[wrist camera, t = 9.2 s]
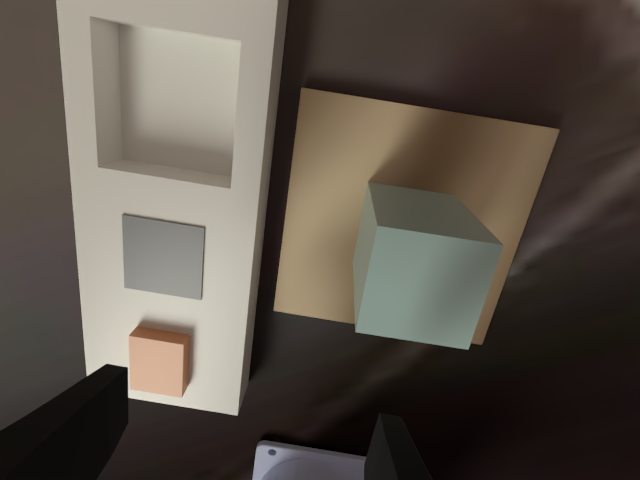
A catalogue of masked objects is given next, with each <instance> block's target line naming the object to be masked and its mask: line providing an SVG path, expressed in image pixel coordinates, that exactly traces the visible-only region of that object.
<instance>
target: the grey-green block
mask: <svg viewBox="0 0 640 480" xmlns="http://www.w3.org/2000/svg"><path fill="white" fill-rule="evenodd" d="M503 246H504V245H503V244H502V243H501V242H500V241H499V240H498V239H497V238H496V237H495V236H494V235H493V234H492V233H491V232H490V231H489V230H488V229H487V227H486V226H485V225H484V224H483V223H482V222H481V221H480V220H479V219H478V218H477V217H476V216H475V215H474V214H473V213H472V212H471V211H470V210H469V209H468V208H467V207H466V206H465V205H464V204H463V203H462V202H461V201H460V200H459V199H458V198H457V196H456V195H450V194H444V193H437V192H431V191H424V190H418V189H411V188H405V187H398V186H392V185H385V184H379V183H372V182H368V183H367V189H366V194H365V199H364V205H363V210H362V215H361V220H360V226H359V231H358V236H357V241H356V247H355V252H354V257H353V282H354V310H355V332H358V333H364V334H371V335H377V336H383V337H390V338H396V339H403V340H409V341H415V342H422V343H428V344H435V345H441V346H448V347H454V348H460V349H467V350H468V349H469V346H470V343H471V340H472V337H473V335H474V332H475V329H476V326H477V323H478V320H479V317H480V314H481V311H482V308H483V305H484V302H485V299H486V296H487V293H488V290H489V287H490V284H491V281H492V278H493V275H494V272H495V269H496V266H497V264H498V261H499V258H500V255H501V252H502V249H503Z"/></svg>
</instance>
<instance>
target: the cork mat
mask: <svg viewBox="0 0 640 480" xmlns="http://www.w3.org/2000/svg"><path fill="white" fill-rule="evenodd" d="M559 131H560V129H555V128H550V127H543V126H537V125H531V124H525V123H519V122H513V121H507V120H500V119H494V118H488V117H482V116H476V115H470V114H464V113H457V112H451V111H445V110H439V109H433V108H427V107H420V106H414V105H408V104H402V103H396V102H390V101H384V100H377V99H371V98H365V97H359V96H353V95H347V94H341V93H334V92H328V91H322V90H316V89H310V88H304V87H301V94H300V102H299V110H298V118H297V126H296V134H295V142H294V150H293V158H292V166H291V174H290V182H289V190H288V198H287V206H286V214H285V222H284V230H283V238H282V246H281V254H280V262H279V270H278V278H277V286H276V294H275V302H274V310H273V311H278V312H284V313H291V314H297V315H303V316H309V317H315V318H321V319H327V320H333V321H340V322H346V323H352V324H355V310H354V282H353V257H354V252H355V247H356V241H357V236H358V231H359V226H360V220H361V215H362V210H363V205H364V199H365V194H366V189H367V183H368V182H372V183H379V184H385V185H392V186H398V187H405V188H411V189H418V190H424V191H431V192H437V193H444V194H450V195H456V196H457V198H458V199H459V200H460V201H461V202H462V203H463V204H464V205H465V206H466V207H467V208H468V209H469V210H470V211H471V212H472V213H473V214H474V215H475V216H476V217H477V218H478V219H479V220H480V221H481V222H482V223H483V224H484V225H485V226H486V227H487V229H488V230H489V231H490V232H491V233H492V234H493V235H494V236H495V237H496V238H497V239H498V240H499V241H500V242H501V243H502V244H503V245H504V246H503V249H502V252H501V255H500V258H499V261H498V264H497V266H496V269H495V272H494V275H493V278H492V281H491V284H490V287H489V290H488V293H487V296H486V299H485V302H484V305H483V308H482V311H481V314H480V317H479V320H478V323H477V326H476V329H475V332H474V335H473V337H472V340H471V343H474V344H480V345H482V343H483V340H484V338H485V335H486V332H487V329H488V327H489V324H490V321H491V318H492V315H493V313H494V310H495V307H496V304H497V302H498V299H499V296H500V293H501V291H502V288H503V285H504V282H505V280H506V277H507V274H508V271H509V269H510V266H511V263H512V260H513V258H514V255H515V252H516V249H517V246H518V244H519V241H520V238H521V235H522V233H523V230H524V227H525V224H526V222H527V219H528V216H529V213H530V211H531V208H532V205H533V202H534V200H535V197H536V194H537V191H538V189H539V186H540V183H541V180H542V177H543V175H544V172H545V169H546V166H547V164H548V161H549V158H550V155H551V153H552V150H553V147H554V144H555V142H556V139H557V136H558V133H559Z"/></svg>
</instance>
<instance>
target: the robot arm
mask: <svg viewBox="0 0 640 480" xmlns="http://www.w3.org/2000/svg"><path fill="white" fill-rule="evenodd" d="M127 424H128V367H122V366H117V365H111V364H105V365H104V366H102V367H101V368H99V369H98V370H96V371H94V372H93V373H91V374H90V375H88V376H87V377H85V378H84V379H82V380H81V381H79V382H78V383H76V384H75V385H73V386H72V387H70V388H68V389H67V390H65V391H64V392H62V393H61V394H59V395H58V396H56V397H55V398H53V399H52V400H50V401H48V402H47V403H45V404H44V405H42V406H41V407H39V408H37V409H36V410H34V411H33V412H31V413H29V414H28V415H26V416H25V417H23V418H21V419H20V420H18V421H16V422H15V423H13V424H11V425H9V426H8V427H6V428H4V429H3V430H1V431H0V480H96V479H97V478H98V476H99V475H100V473H101V472H102V470H103V468H104V467H105V465H106V464H107V462H108V461H109V459H110V457H111V455H112V453H113V452H114V450H115V448H116V446H117V444H118V442H119V440H120V438H121V436H122V434H123V432H124V430H125V428H126V426H127ZM271 449H273V450H271ZM252 480H433V479H432V477H431V475H430V473H429V472H428V470H427V468H426V466H425V464H424V462H423V460H422V458H421V456H420V454H419V452H418V450H417V448H416V446H415V444H414V442H413V440H412V438H411V436H410V434H409V431H408V429H407V427H406V425H405V423H404V421H403V419H402V418H401V416H395V415H390V414H384V413H379V416H378V419H377V422H376V426H375V429H374V433H373V436H372V440H371V443H370V446H369V450H368V453H367V457H365V456H358V455H352V454H346V453H340V452H334V451H328V450H322V449H316V448H310V447H303V446H297V445H291V444H285V443H279V442H273V441H267V440H263V441H260V442H259V443H258V444H257V448H256V455H255V463H254V471H253V479H252Z"/></svg>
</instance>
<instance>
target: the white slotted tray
mask: <svg viewBox="0 0 640 480" xmlns="http://www.w3.org/2000/svg"><path fill="white" fill-rule="evenodd" d="M56 4H57V16H58V29H59V41H60V53H61V65H62V78H63V90H64V102H65V114H66V127H67V139H68V151H69V164H70V176H71V188H72V200H73V213H74V225H75V237H76V249H77V262H78V274H79V286H80V299H81V311H82V323H83V335H84V348H85V360H86V372H87V376H88V375H90V374H91V373H93V372H94V371H96V370H98V369H99V368H101V367H102V366H104V365H105V364H111V365H117V366H122V367H128V398H134V399H140V400H146V401H152V402H158V403H164V404H170V405H176V406H182V407H189V408H195V409H201V410H207V411H213V412H219V413H225V414H231V415H237V416H238V413H239V410H240V407H241V404H242V400H243V397H244V394H245V391H246V388H247V385H248V381H249V371H250V362H251V352H252V343H253V334H254V324H255V315H256V305H257V296H258V287H259V277H260V268H261V258H262V249H263V239H264V230H265V221H266V211H267V202H268V192H269V183H270V173H271V164H272V155H273V145H274V136H275V126H276V117H277V107H278V98H279V89H280V79H281V70H282V60H283V51H284V41H285V32H286V23H287V13H288V4H289V0H56Z"/></svg>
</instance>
